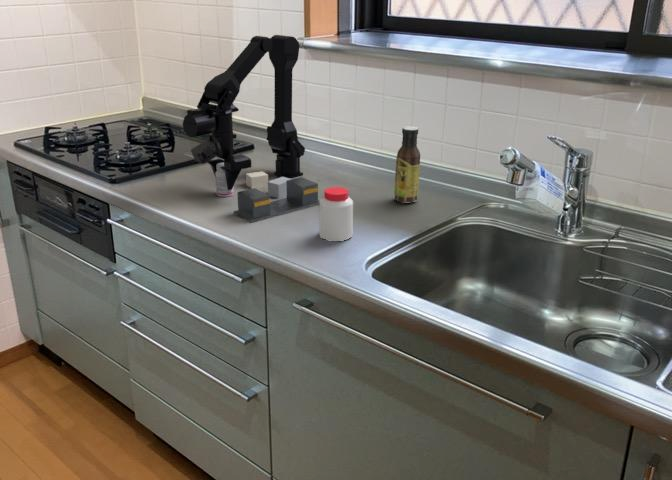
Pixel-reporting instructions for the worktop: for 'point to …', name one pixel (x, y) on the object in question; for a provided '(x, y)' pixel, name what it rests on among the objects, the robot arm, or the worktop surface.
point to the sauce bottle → (407, 167)
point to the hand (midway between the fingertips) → (225, 187)
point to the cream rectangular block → (257, 180)
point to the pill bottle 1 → (222, 182)
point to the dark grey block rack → (259, 206)
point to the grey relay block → (278, 187)
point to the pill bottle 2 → (336, 214)
